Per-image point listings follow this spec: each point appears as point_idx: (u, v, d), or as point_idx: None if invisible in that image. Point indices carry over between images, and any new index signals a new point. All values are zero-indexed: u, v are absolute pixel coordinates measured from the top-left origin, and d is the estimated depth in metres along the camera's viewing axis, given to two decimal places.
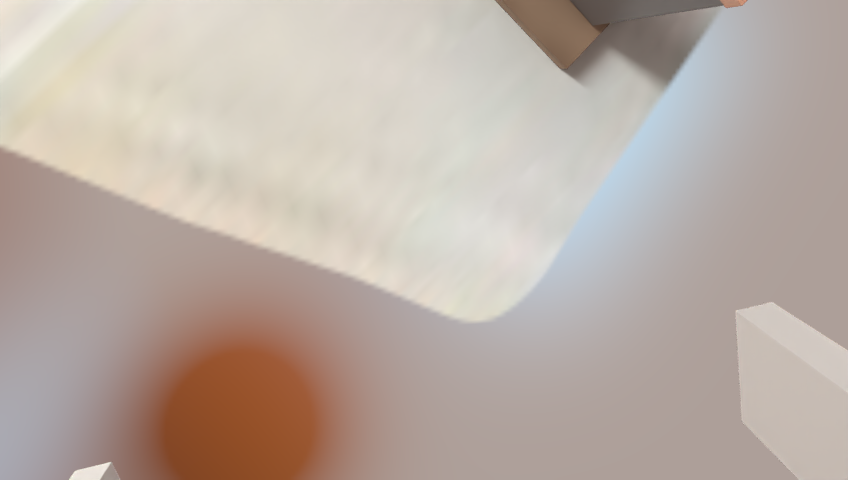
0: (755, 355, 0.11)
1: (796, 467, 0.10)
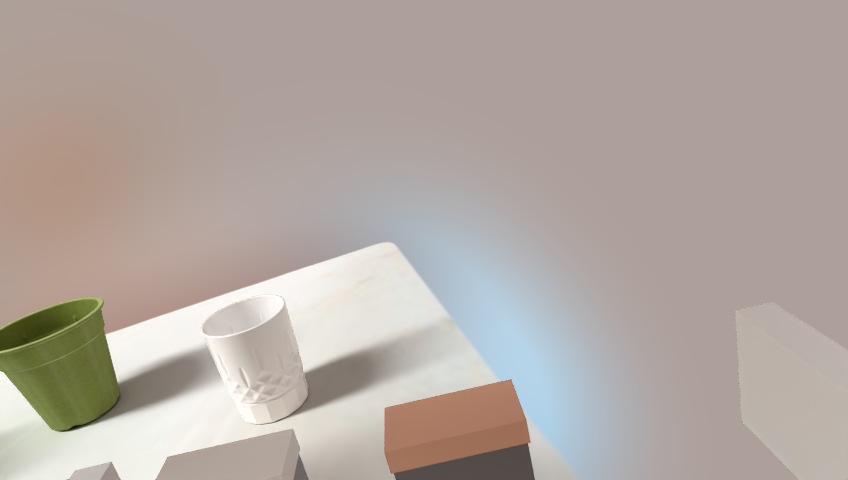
0: (755, 355, 0.11)
1: (796, 467, 0.10)
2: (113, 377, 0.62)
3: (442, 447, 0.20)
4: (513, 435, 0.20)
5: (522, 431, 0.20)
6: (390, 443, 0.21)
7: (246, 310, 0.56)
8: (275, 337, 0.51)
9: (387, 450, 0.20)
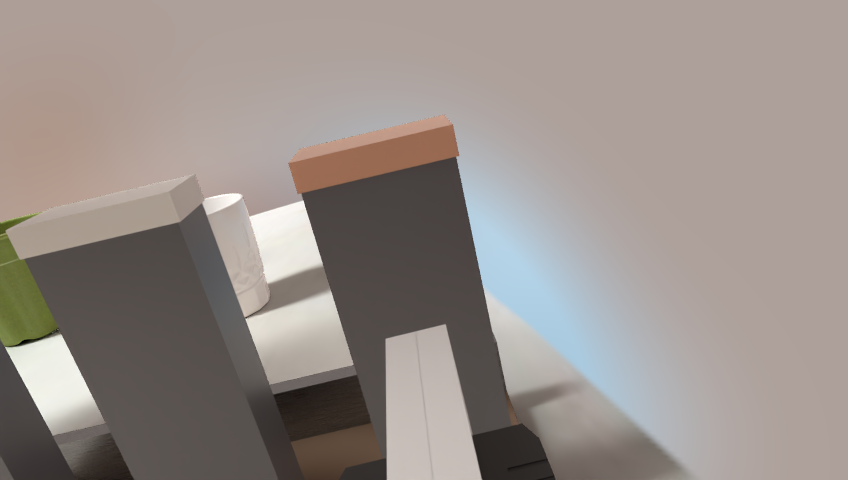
0: None
1: None
2: None
3: (356, 159, 0.18)
4: (438, 145, 0.18)
5: (449, 140, 0.18)
6: (297, 159, 0.18)
7: None
8: (231, 228, 0.48)
9: (292, 162, 0.17)
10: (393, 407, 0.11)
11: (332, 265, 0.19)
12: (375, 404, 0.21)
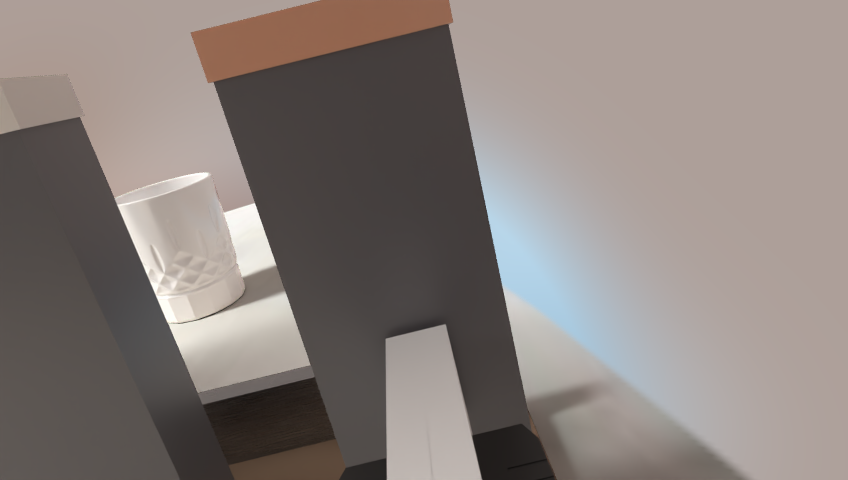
0: None
1: None
2: None
3: (295, 27, 0.11)
4: (421, 5, 0.12)
5: None
6: None
7: None
8: (195, 210, 0.42)
9: (196, 31, 0.11)
10: (393, 407, 0.11)
11: (266, 197, 0.13)
12: (338, 405, 0.14)
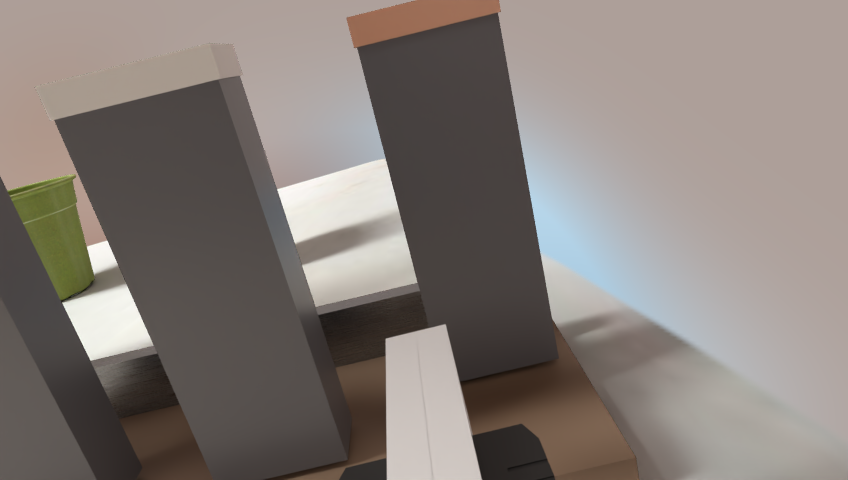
0: None
1: None
2: (86, 258, 0.58)
3: (407, 14, 0.19)
4: (482, 1, 0.19)
5: None
6: None
7: None
8: None
9: (349, 17, 0.19)
10: (393, 407, 0.11)
11: (383, 119, 0.20)
12: (420, 259, 0.22)
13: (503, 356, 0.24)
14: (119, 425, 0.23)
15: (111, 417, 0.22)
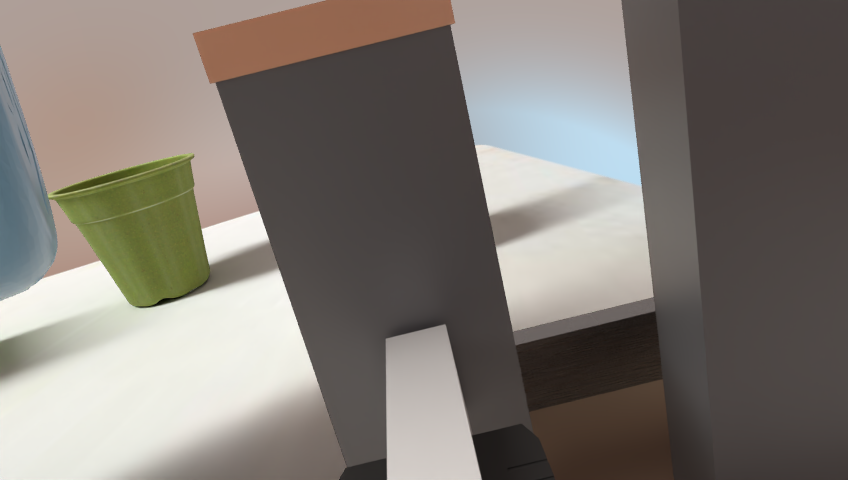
0: None
1: None
2: (204, 248, 0.52)
3: None
4: None
5: None
6: None
7: None
8: None
9: None
10: (393, 407, 0.11)
11: None
12: None
13: None
14: None
15: None
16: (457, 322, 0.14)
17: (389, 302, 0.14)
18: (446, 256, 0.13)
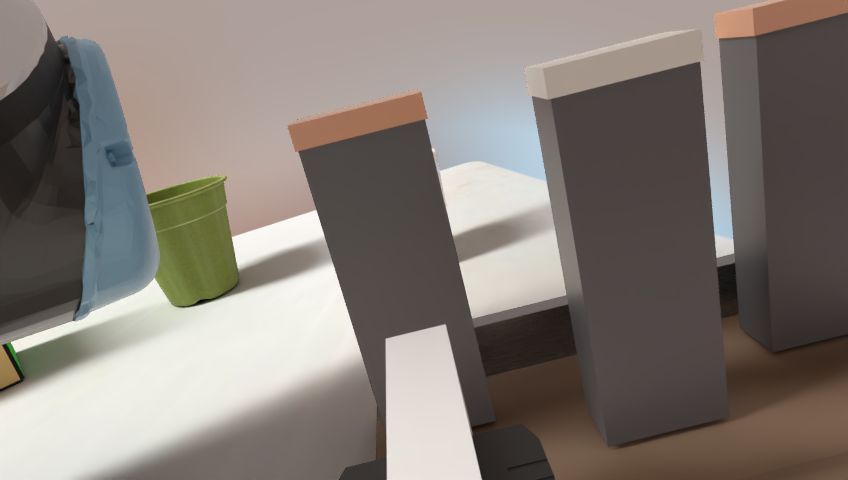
0: None
1: None
2: (234, 256, 0.60)
3: (806, 5, 0.21)
4: None
5: None
6: (752, 7, 0.22)
7: None
8: None
9: (754, 8, 0.21)
10: (393, 407, 0.11)
11: (766, 101, 0.22)
12: (774, 232, 0.24)
13: (830, 324, 0.26)
14: None
15: None
16: (432, 285, 0.24)
17: (392, 272, 0.23)
18: (425, 245, 0.23)
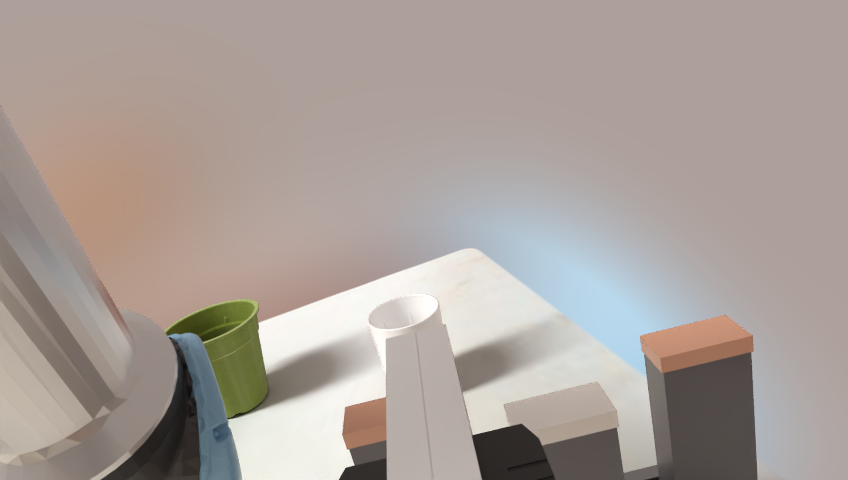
0: None
1: None
2: None
3: (697, 354, 0.31)
4: (743, 346, 0.31)
5: (749, 343, 0.31)
6: (661, 353, 0.31)
7: (396, 308, 0.64)
8: None
9: (661, 357, 0.31)
10: (393, 407, 0.11)
11: (672, 409, 0.32)
12: None
13: None
14: None
15: None
16: None
17: None
18: None
